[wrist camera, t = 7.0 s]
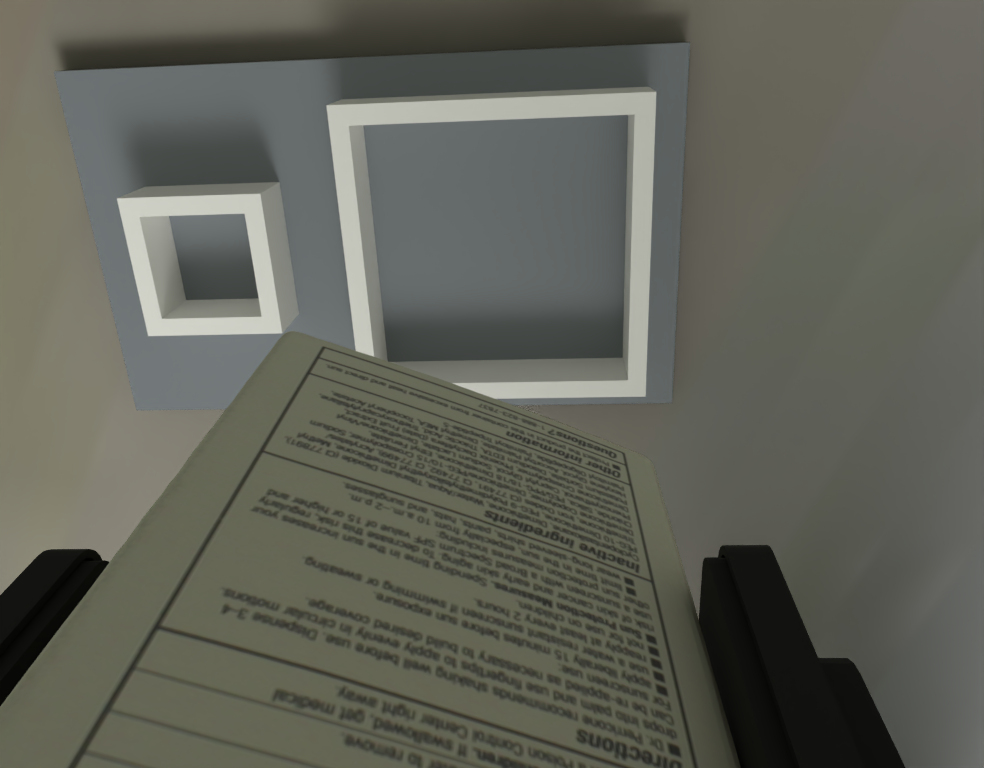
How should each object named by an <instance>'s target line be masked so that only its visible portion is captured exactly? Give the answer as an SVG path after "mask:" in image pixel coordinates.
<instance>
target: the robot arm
mask: <svg viewBox="0 0 984 768" xmlns="http://www.w3.org/2000/svg"><path fill="white" fill-rule="evenodd" d="M108 564H109V562H108V561H102V559H101V557H100V555H99V554H98V553H97V552H96V551H94V550H91V549H50V550H46V551H44V552H42V553H41V554H40V555H38V556H37V557H36V558H35V559H34V560H33V562H32V563H31V564H30V565H29V566H28V567H27V568H26V569H25V570H24V571H23V572H22V573H21V574H20V575H19V576H18V577H17V578H16V579H15V580H14V582H13V583H12V584H11V585H10V586H9V587H8V588H7V589H6V590H5V591H4V592H3V593H2V594H1V595H0V706H1V705H2V704H3V702H4V701H5V700H6V698H7V697H8V696H9V694H10V693H11V692H12V690H13V689H14V688H15V686H16V685H17V684H18V682H19V681H20V680H21V678H22V677H23V676H24V674H25V673H26V672H27V670H28V669H29V668H30V666H31V665H32V664H33V663H34V661H35V660H36V659H37V657H38V656H39V655H40V653H41V652H42V651H43V649H44V648H45V647H46V645H47V644H48V643H49V642H50V640H51V639H52V638H53V636H54V635H55V634H56V632H57V631H58V630H59V628H60V627H61V626H62V624H63V623H64V622H65V620H66V619H67V618H68V617H69V615H70V614H71V613H72V611H73V610H74V609H75V608H76V606H77V605H78V604H79V602H80V601H81V600H82V599H83V597H84V596H85V595H86V593H87V592H88V591H89V589H90V588H91V587H92V585H93V584H94V583H95V581H96V580H97V579H98V577H99V576H100V574H101V573H102V572H103V570H104V569H105V568H106V566H107V565H108ZM699 624H700V628H701V631H702V634H703V638H704V641H705V645H706V648H707V652H708V655H709V659H710V662H711V666H712V669H713V673H714V677H715V680H716V684H717V687H718V691H719V694H720V698H721V701H722V705H723V708H724V712H725V715H726V719H727V722H728V725H729V729H730V732H731V735H732V739H733V742H734V745H735V749H736V752H737V756H738V759H739V763H740V766H741V768H905V766H904V764H903V762H902V760H901V758H900V756H899V754H898V751H897V749H896V747H895V745H894V743H893V741H892V739H891V737H890V735H889V733H888V731H887V728H886V726H885V724H884V722H883V720H882V718H881V716H880V714H879V712H878V710H877V708H876V706H875V703H874V701H873V699H872V697H871V695H870V693H869V691H868V689H867V687H866V685H865V683H864V681H863V678H862V676H861V674H860V673H859V671H858V669H857V668H856V666H855V664H854V663H853V662H852V661H850V660H849V659H848V658H818V657H817V654H816V652H815V649H814V647H813V645H812V642H811V640H810V638H809V635H808V633H807V631H806V628H805V626H804V624H803V621H802V619H801V617H800V614H799V612H798V610H797V607H796V605H795V602H794V600H793V598H792V595H791V593H790V591H789V588H788V586H787V584H786V581H785V579H784V577H783V574H782V572H781V570H780V567H779V565H778V563H777V560H776V558H775V555H774V553H773V551H772V549H771V548H770V547H769V546H768V545H726V546H721V547H720V550H719V555H718V558H705V559H704V561H703V567H702V581H701V597H700V612H699Z"/></svg>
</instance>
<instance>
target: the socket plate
mask: <svg viewBox="0 0 984 768" xmlns="http://www.w3.org/2000/svg"><path fill="white" fill-rule="evenodd" d="M689 53H690V43H689V42H675V43H653V44H631V45H609V46H587V47H565V48H543V49H521V50H499V51H477V52H456V53H434V54H412V55H390V56H368V57H346V58H324V59H302V60H280V61H258V62H236V63H214V64H192V65H170V66H148V67H126V68H104V69H83V70H64V71H55V72H54V74H55V78H56V83H57V87H58V91H59V95H60V99H61V103H62V107H63V111H64V115H65V119H66V124H67V128H68V132H69V136H70V140H71V144H72V148H73V152H74V156H75V160H76V164H77V169H78V173H79V177H80V181H81V185H82V189H83V193H84V197H85V201H86V205H87V210H88V214H89V218H90V222H91V226H92V230H93V234H94V238H95V242H96V246H97V250H98V255H99V259H100V263H101V267H102V271H103V275H104V279H105V283H106V287H107V291H108V296H109V300H110V304H111V308H112V312H113V316H114V320H115V324H116V328H117V332H118V336H119V341H120V345H121V349H122V353H123V357H124V361H125V365H126V369H127V373H128V377H129V382H130V386H131V390H132V394H133V398H134V402H135V406H136V410H198V409H227V407H228V406H229V405H230V404H231V403H232V401H233V400H234V399H235V397H236V396H237V394H238V393H239V392H240V390H241V389H242V387H243V386H244V385H245V383H246V382H247V381H248V379H249V378H250V377H251V375H252V374H253V373H254V371H255V370H256V369H257V368H258V366H259V365H260V364H261V362H262V361H263V360H264V358H265V357H266V356H267V355H268V353H269V352H270V350H271V349H272V348H273V346H274V345H275V344H276V342H277V341H278V340H279V339H280V338H281V336H282V335H283V334H285V333H286V332H290V331H296V332H300V333H304V334H306V335H309V336H312V337H315V338H318V339H321V340H324V341H327V342H331V343H334V344H337V345H340V346H343V347H346V348H349V349H352V350H354V351H358V352H361V353H364V354H367V355H370V356H373V357H376V358H379V359H382V360H385V361H388V362H391V363H394V364H397V365H400V366H403V367H406V368H409V369H411V370H414V371H417V372H420V373H423V374H426V375H429V376H432V377H435V378H438V379H441V380H444V381H447V382H450V383H452V384H455V385H458V386H461V387H463V388H466V389H469V390H472V391H475V392H477V393H480V394H483V395H486V396H489V397H492V398H494V399H497V400H500V401H503V402H506V403H508V404H511V405H567V404H641V403H672V393H673V373H674V353H675V333H676V313H677V293H678V273H679V253H680V233H681V213H682V193H683V173H684V153H685V133H686V113H687V93H688V73H689Z"/></svg>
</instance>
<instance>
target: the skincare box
mask: <svg viewBox="0 0 984 768" xmlns="http://www.w3.org/2000/svg"><path fill="white" fill-rule="evenodd" d="M0 768H741V766H740V763H739V759H738V756H737V752H736V749H735V745H734V742H733V739H732V735H731V732H730V729H729V725H728V722H727V719H726V715H725V712H724V708H723V705H722V701H721V698H720V694H719V691H718V687H717V684H716V680H715V677H714V673H713V669H712V666H711V662H710V659H709V655H708V652H707V648H706V645H705V641H704V638H703V634H702V631H701V628H700V624H699V621H698V617H697V613H696V610H695V606H694V602H693V598H692V595H691V592H690V589H689V586H688V582H687V579H686V576H685V572H684V569H683V565H682V562H681V558H680V555H679V552H678V548H677V545H676V542H675V538H674V535H673V532H672V528H671V524H670V520H669V517H668V513H667V510H666V507H665V503H664V500H663V496H662V492H661V488H660V485H659V482H658V478H657V475H656V471H655V468H654V466H653V464H652V462H651V461H650V460H649V459H648V458H647V457H645V456H643V455H641V454H639V453H637V452H634V451H631V450H629V449H626V448H623V447H621V446H618V445H616V444H613V443H611V442H609V441H606V440H604V439H601V438H599V437H597V436H594V435H591V434H587V433H585V432H582V431H580V430H578V429H575V428H573V427H570V426H568V425H565V424H563V423H560V422H557V421H554V420H552V419H549V418H547V417H544V416H541V415H538V414H535V413H533V412H530V411H527V410H524V409H522V408H519V407H516V406H514V405H511V404H508V403H506V402H503V401H500V400H497V399H494V398H492V397H489V396H486V395H483V394H480V393H477V392H475V391H472V390H469V389H466V388H463V387H461V386H458V385H455V384H452V383H450V382H447V381H444V380H441V379H438V378H435V377H432V376H429V375H426V374H423V373H420V372H417V371H414V370H411V369H409V368H406V367H403V366H400V365H397V364H394V363H391V362H388V361H385V360H382V359H379V358H376V357H373V356H370V355H367V354H364V353H361V352H358V351H354V350H352V349H349V348H346V347H343V346H340V345H337V344H334V343H331V342H327V341H324V340H321V339H318V338H315V337H312V336H309V335H306V334H304V333H300V332H296V331H290V332H286V333H285V334H283V335H282V336H281V338H280V339H279V340H278V341H277V342H276V344H275V345H274V346H273V348H272V349H271V350H270V352H269V353H268V355H267V356H266V357H265V358H264V360H263V361H262V362H261V364H260V365H259V366H258V368H257V369H256V370H255V371H254V373H253V374H252V375H251V377H250V378H249V379H248V381H247V382H246V383H245V385H244V386H243V387H242V389H241V390H240V392H239V393H238V394H237V396H236V397H235V399H234V400H233V401H232V403H231V404H230V405H229V406H228V407H227V409H226V410H225V411H224V412H223V414H222V415H221V417H220V418H219V419H218V421H217V422H216V423H215V425H214V426H213V428H212V429H211V430H210V431H209V432H208V433H207V435H206V436H205V437H204V439H203V440H202V441H201V442H200V444H199V445H198V446H197V448H196V449H195V450H194V451H193V453H192V454H191V456H190V457H189V458H188V460H187V461H186V463H185V464H184V466H183V467H182V468H181V470H180V471H179V473H178V474H177V475H176V477H175V478H174V479H173V480H172V481H171V482H170V483H169V485H168V486H167V488H166V489H165V491H164V492H163V493H162V495H161V496H160V497H159V498H158V500H157V501H156V502H155V503H154V505H153V506H152V507H151V508H150V510H149V511H148V512H147V513H146V515H145V516H144V517H143V519H142V520H141V521H140V523H139V524H138V526H137V527H136V528H135V530H134V531H133V533H132V534H131V535H130V537H129V538H128V539H127V541H126V542H125V543H124V545H123V546H122V547H121V548H120V550H119V551H118V552H117V553H116V554H115V556H114V557H113V558H112V560H111V561H110V562H109V564H108V565H107V566H106V568H105V569H104V570H103V572H102V573H101V574H100V576H99V577H98V579H97V580H96V581H95V583H94V584H93V585H92V587H91V588H90V589H89V591H88V592H87V593H86V595H85V596H84V597H83V599H82V600H81V601H80V602H79V604H78V605H77V606H76V608H75V609H74V610H73V611H72V613H71V614H70V615H69V617H68V618H67V619H66V620H65V622H64V623H63V624H62V626H61V627H60V628H59V630H58V631H57V632H56V634H55V635H54V636H53V638H52V639H51V640H50V642H49V643H48V644H47V645H46V647H45V648H44V649H43V651H42V652H41V653H40V655H39V656H38V657H37V659H36V660H35V661H34V663H33V664H32V665H31V666H30V668H29V669H28V670H27V672H26V673H25V674H24V676H23V677H22V678H21V680H20V681H19V682H18V684H17V685H16V686H15V688H14V689H13V690H12V692H11V693H10V694H9V696H8V697H7V698H6V700H5V701H4V702H3V704H2V705H1V706H0Z"/></svg>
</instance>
